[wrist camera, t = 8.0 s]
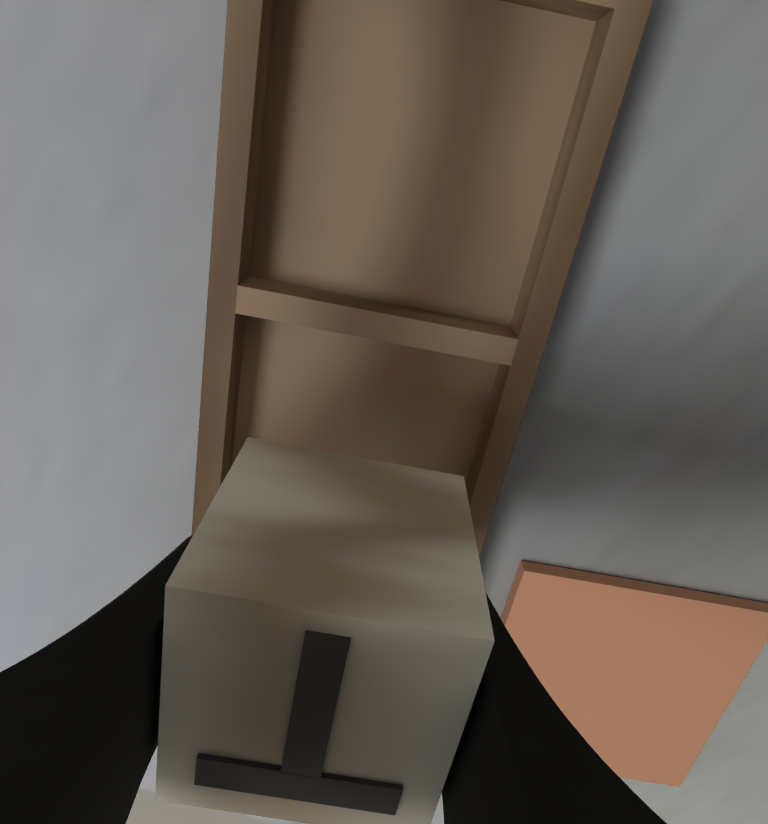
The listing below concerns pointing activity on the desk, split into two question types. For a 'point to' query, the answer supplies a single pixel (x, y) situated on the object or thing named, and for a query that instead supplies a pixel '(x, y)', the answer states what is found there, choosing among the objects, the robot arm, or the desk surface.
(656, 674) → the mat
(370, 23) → the organizer
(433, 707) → the letter cube
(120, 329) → the desk surface
